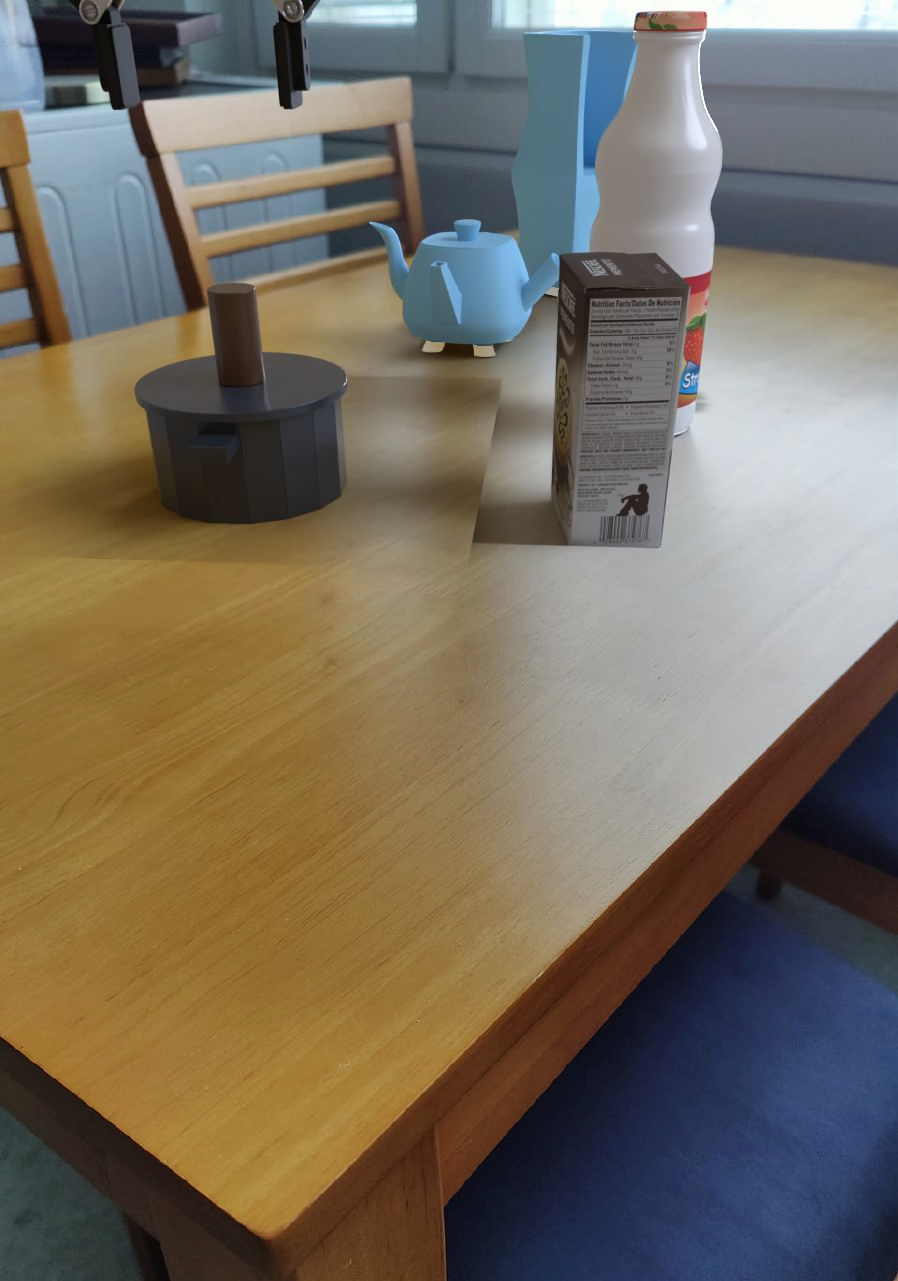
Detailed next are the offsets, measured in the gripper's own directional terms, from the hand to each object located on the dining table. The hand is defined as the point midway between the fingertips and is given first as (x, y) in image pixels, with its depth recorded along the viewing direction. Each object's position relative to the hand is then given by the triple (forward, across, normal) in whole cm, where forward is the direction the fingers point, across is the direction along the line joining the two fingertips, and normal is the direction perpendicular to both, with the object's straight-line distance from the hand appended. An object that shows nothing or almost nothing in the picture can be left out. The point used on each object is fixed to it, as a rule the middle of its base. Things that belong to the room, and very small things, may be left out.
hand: (208, 107), depth 64 cm
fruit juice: (+24, +27, +21) cm, 42 cm away
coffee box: (+24, +24, 0) cm, 34 cm away
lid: (+16, 0, 0) cm, 16 cm away
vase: (+24, +21, +71) cm, 78 cm away
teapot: (+24, +11, +44) cm, 52 cm away
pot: (+24, 0, 0) cm, 24 cm away
